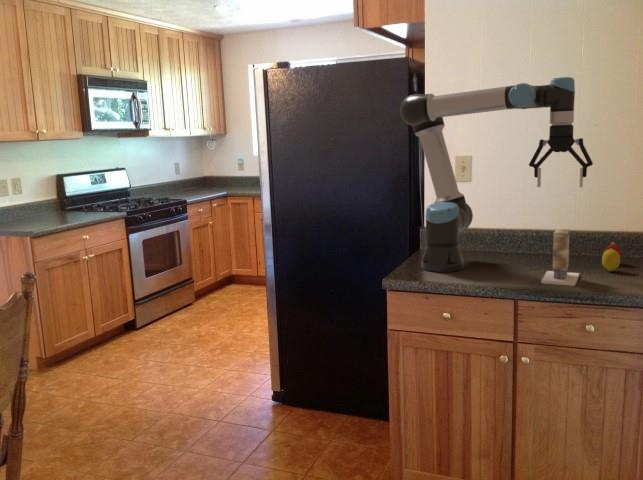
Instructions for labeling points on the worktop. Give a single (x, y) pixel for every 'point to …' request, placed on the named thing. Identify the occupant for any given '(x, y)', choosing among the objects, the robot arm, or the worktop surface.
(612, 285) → the worktop surface
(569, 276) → the peg rest
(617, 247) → the onion
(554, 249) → the tan wooden block
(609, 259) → the lemon
